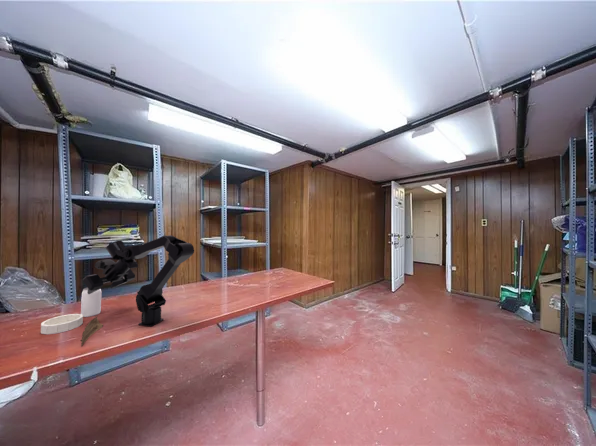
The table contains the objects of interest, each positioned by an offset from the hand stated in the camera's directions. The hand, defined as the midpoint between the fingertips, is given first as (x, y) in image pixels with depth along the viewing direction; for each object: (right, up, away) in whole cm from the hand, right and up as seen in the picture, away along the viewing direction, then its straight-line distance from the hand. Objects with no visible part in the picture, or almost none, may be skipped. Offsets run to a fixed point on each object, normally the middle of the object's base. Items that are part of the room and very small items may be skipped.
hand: (100, 290), depth 96 cm
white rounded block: (-5, -11, +1) cm, 12 cm away
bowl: (-4, -11, -12) cm, 16 cm away
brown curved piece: (+14, -11, -18) cm, 25 cm away
